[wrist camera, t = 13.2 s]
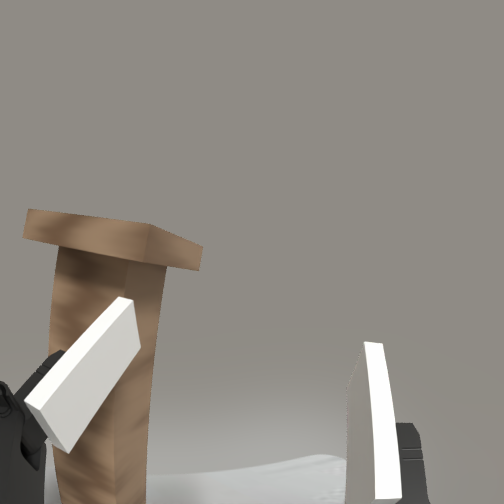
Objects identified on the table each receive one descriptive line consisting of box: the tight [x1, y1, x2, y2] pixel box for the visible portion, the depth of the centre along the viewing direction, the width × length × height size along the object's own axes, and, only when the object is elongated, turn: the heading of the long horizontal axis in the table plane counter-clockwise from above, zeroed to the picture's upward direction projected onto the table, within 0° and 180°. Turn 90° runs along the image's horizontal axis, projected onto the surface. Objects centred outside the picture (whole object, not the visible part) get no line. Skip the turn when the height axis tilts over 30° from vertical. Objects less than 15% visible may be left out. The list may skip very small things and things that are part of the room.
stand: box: [23, 209, 203, 504], centre depth 20 cm, size 10×10×30 cm
